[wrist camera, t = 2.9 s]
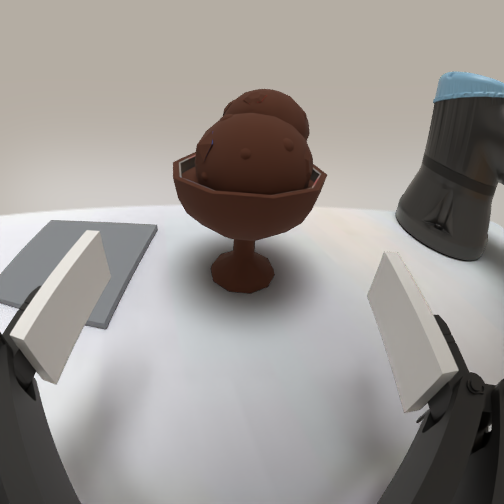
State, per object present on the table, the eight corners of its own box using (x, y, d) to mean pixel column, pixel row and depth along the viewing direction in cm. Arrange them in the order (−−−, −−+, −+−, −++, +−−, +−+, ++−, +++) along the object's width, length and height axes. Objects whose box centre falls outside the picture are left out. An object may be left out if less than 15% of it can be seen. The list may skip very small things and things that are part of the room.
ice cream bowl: (193, 234, 30) (192, 85, 21) (301, 244, 29) (324, 94, 21) (162, 307, 21) (140, 93, 12) (311, 322, 21) (361, 108, 12)
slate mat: (157, 229, 30) (157, 224, 30) (106, 328, 18) (103, 323, 18) (52, 224, 30) (51, 220, 29) (-13, 298, 18) (-16, 293, 18)
